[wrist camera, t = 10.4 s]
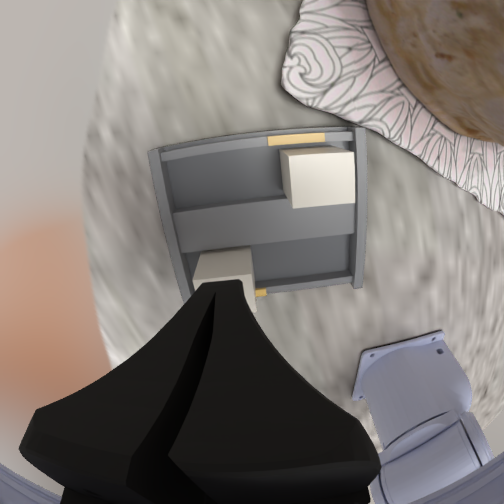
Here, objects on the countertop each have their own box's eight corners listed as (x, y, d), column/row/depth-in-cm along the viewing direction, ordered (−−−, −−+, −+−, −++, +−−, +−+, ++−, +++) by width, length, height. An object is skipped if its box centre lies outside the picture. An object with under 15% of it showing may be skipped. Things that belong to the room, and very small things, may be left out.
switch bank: (354, 126, 15) (368, 127, 13) (354, 270, 19) (365, 287, 17) (156, 148, 15) (143, 152, 13) (188, 290, 20) (182, 308, 18)
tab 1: (250, 244, 17) (251, 273, 14) (254, 278, 18) (256, 312, 15) (201, 250, 17) (192, 280, 14) (208, 283, 18) (202, 317, 15)
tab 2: (331, 145, 15) (353, 152, 11) (333, 186, 16) (355, 202, 12) (279, 148, 15) (288, 155, 12) (283, 190, 16) (292, 208, 13)
